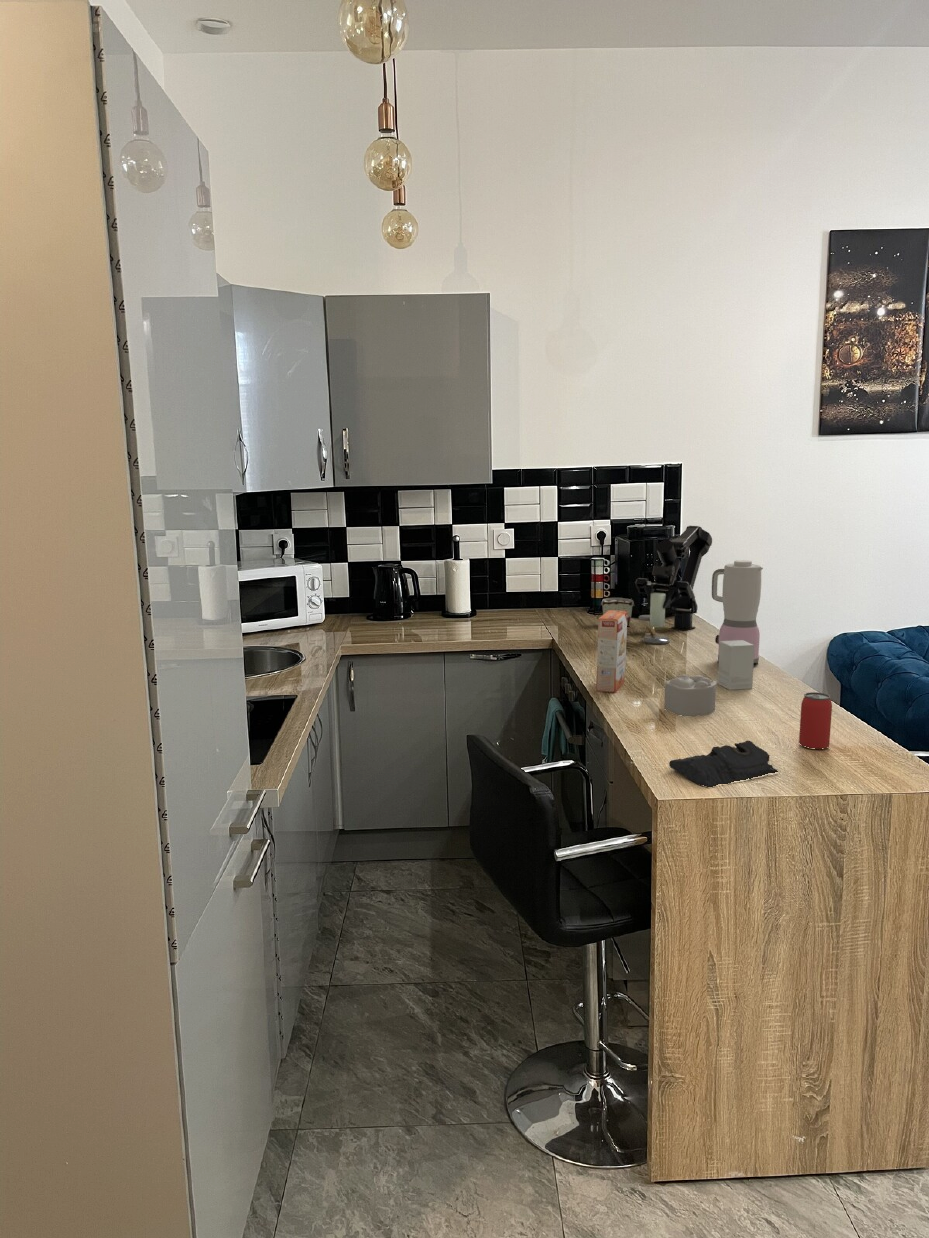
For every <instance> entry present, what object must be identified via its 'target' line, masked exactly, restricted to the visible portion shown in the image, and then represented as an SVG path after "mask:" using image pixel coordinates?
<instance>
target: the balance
mask: <svg viewBox="0 0 929 1238" xmlns="http://www.w3.org/2000/svg"><path fill="white" fill-rule="evenodd" d="M638 620H640V621H645V622H646V621H647V622H650V614H642V615H639V616H638ZM649 627H650V632H645V633H644V636H643V638H642V641H643V643H644V644H647V643H649V644H648V645H656V646H657V645H661V646H662V645H668V644H670V643H671V638H670V637H668V636H664V635H663V636H661V635H660V634H659V633H658V632H656V631H655V628H656V627H652V626H650V625H649Z"/></svg>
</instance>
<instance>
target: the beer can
mask: <svg viewBox="0 0 929 1238" xmlns="http://www.w3.org/2000/svg"><path fill="white" fill-rule="evenodd" d="M803 696H804V697H803V699H802V701H801V705H800V717H799V719H800V720H799V734H798V738H799V739H798V744H799V743H800V744H801V745H802V746H806V747H809V748H815V749H822V748H826V749H828V748H829V747H830V740H831V728H832V727H831V725H832V715H833V713H832V712H833V703H832V700H831V695H829V694H828V693H825V692H818V691H817V692H816V691H813V692H810V691H809V692H805V693H804V695H803ZM800 744H799V745H800ZM801 745H800V746H801ZM802 746H801V747H802ZM827 747H828V748H827Z"/></svg>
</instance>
